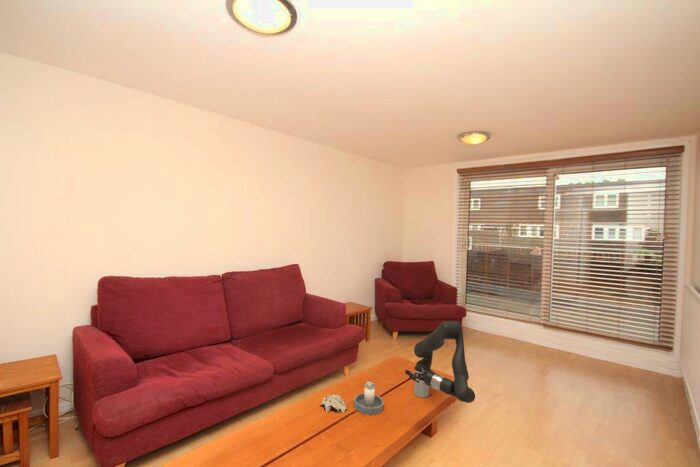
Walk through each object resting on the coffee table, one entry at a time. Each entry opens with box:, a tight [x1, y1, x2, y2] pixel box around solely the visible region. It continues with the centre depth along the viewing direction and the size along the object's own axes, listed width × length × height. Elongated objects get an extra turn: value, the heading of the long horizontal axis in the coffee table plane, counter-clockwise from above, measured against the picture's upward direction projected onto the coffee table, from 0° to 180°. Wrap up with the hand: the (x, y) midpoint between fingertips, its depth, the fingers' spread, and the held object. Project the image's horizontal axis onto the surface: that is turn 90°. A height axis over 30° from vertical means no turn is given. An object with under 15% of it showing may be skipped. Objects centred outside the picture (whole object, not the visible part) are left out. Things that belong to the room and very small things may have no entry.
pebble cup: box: [364, 381, 376, 408], centre depth 194 cm, size 6×6×14 cm
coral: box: [320, 394, 348, 413], centre depth 192 cm, size 15×12×5 cm
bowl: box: [353, 392, 384, 416], centre depth 194 cm, size 17×17×4 cm
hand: (410, 369), depth 182 cm, fingers open, 8 cm apart
